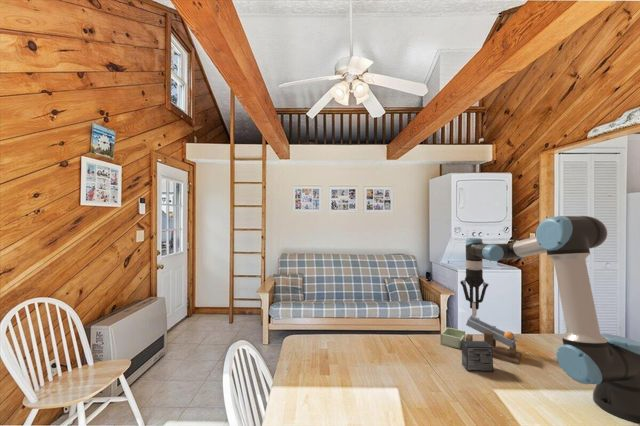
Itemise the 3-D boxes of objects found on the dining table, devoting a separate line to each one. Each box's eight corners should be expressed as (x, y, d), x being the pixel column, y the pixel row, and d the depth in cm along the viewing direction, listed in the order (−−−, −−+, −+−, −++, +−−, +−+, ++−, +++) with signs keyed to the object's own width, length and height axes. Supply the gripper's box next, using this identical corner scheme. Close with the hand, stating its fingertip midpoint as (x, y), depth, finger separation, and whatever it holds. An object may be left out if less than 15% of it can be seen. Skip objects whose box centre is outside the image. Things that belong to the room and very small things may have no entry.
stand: (518, 363, 131) (518, 339, 131) (461, 349, 145) (460, 327, 145) (520, 354, 140) (520, 331, 140) (466, 341, 154) (466, 320, 154)
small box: (486, 364, 131) (486, 340, 131) (493, 372, 124) (493, 347, 124) (461, 363, 132) (461, 339, 132) (466, 371, 125) (466, 346, 125)
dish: (460, 349, 145) (459, 338, 145) (440, 344, 151) (440, 333, 151) (465, 341, 154) (465, 331, 154) (446, 337, 160) (446, 327, 160)
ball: (512, 343, 135) (514, 335, 135) (502, 339, 138) (504, 331, 137) (513, 340, 138) (515, 332, 138) (503, 336, 141) (505, 328, 140)
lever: (512, 348, 134) (516, 340, 133) (464, 324, 146) (467, 316, 145) (515, 338, 145) (518, 330, 144) (470, 316, 157) (473, 309, 156)
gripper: (489, 268, 152) (490, 315, 152) (462, 266, 160) (462, 310, 160) (487, 271, 146) (487, 320, 146) (458, 268, 154) (458, 314, 154)
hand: (474, 315), depth 153 cm, fingers closed
